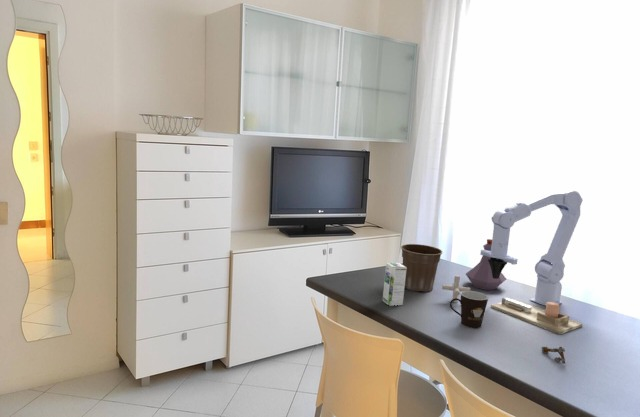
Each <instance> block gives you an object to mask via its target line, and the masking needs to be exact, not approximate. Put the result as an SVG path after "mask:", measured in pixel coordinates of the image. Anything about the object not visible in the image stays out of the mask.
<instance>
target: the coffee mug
mask: <svg viewBox="0 0 640 417" xmlns="http://www.w3.org/2000/svg"><path fill="white" fill-rule="evenodd" d="M455 300H457V302H458V301H459V303H460V312H459V311H457V310H455V309H454V307H453V306H452V304H453V303H454V302H453V301H455ZM488 301H489V296H488V295H487V294H485V293H482V292H479V291H474V290H470V291H463V292H460V298H459V297H458V298H455V299H451V300H450V301H449V307H450V308H451V310H452V311H453V312H454V313H456V314H457V315H458V316H460V323H461V325H462V326H464V327H467V328H470V329H480V328H481V327H482V324H483V320H484V317H485V313H486V309H487V305H488Z"/></svg>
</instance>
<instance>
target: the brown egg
mask: <svg viewBox="0 0 640 417" xmlns="http://www.w3.org/2000/svg"><path fill="white" fill-rule="evenodd" d="M544 310H545V315H548V316H550V317H553V318H556V319H558V313H560V312H559V311H560V304H557V303H554V302H547V303H546V306H545V309H544Z"/></svg>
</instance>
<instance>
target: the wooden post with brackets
mask: <svg viewBox="0 0 640 417" xmlns="http://www.w3.org/2000/svg"><path fill="white" fill-rule="evenodd" d="M549 352H551V353H558V354H559V356H558V357H557V356H555V357H554V361H555V362H561V363H562V364H563V365H566V358H565V356H564V352H566V349H565V348H564V347H562V346H559V347H558V348H556V347H555V348H549V347H548V346H541V353H542V354H548V353H549Z"/></svg>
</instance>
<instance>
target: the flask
mask: <svg viewBox="0 0 640 417" xmlns="http://www.w3.org/2000/svg"><path fill="white" fill-rule="evenodd" d="M491 246H492V239H489V238H488V239H486V243H485V244H483V245H482V247H483V250H488V251H491ZM490 258H491V257H488V256H484V255H481V259H480V261H479V262H478V263H477V264H476V265H475V266H474V267H473V268H471V269H469V271H467V272H466V273H465V276H466V277H467V279H468V280H469V281H470V283H471V284H472V285H473V286H474V287H475V288H477V289H481V290H485V291H495V289H497V288H498V287H499V286H501V285H502V284H503V283H504V282H505V281H506V280H507V278H506V276H505V275H504V274H503V273H502V272H501V274H500V276H499V278H498V279H494V278H493V277H492V270H491V266H490V264H489V262H488V259H490Z"/></svg>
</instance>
